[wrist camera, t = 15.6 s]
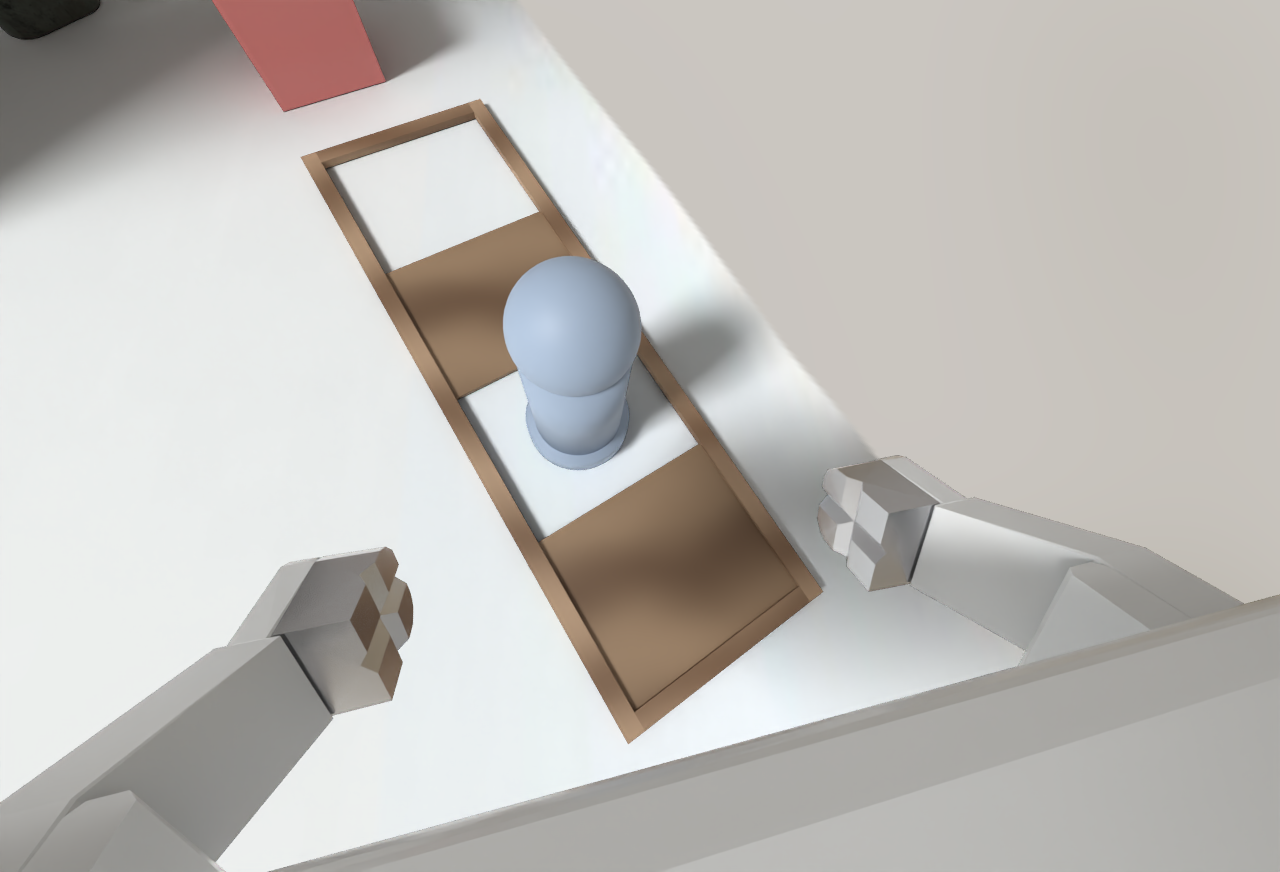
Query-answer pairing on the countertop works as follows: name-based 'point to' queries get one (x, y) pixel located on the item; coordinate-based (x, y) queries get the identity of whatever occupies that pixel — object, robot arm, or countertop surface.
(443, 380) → the game board
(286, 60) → the die
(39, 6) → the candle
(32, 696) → the countertop surface
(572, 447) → the pawn
